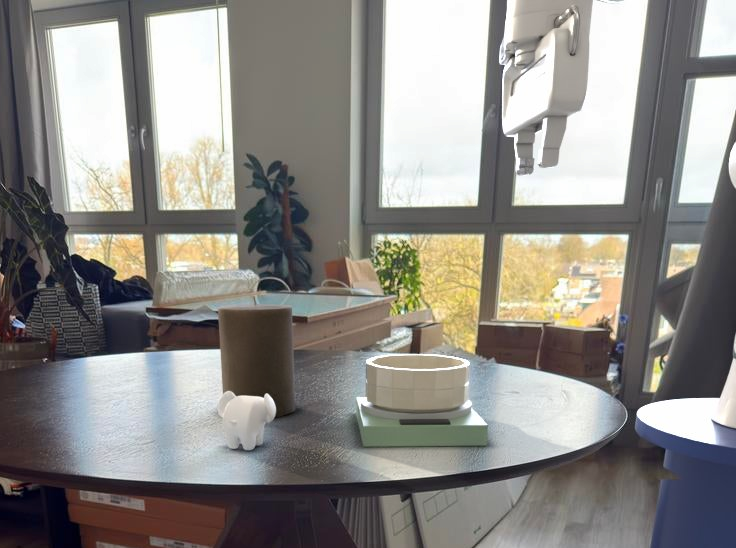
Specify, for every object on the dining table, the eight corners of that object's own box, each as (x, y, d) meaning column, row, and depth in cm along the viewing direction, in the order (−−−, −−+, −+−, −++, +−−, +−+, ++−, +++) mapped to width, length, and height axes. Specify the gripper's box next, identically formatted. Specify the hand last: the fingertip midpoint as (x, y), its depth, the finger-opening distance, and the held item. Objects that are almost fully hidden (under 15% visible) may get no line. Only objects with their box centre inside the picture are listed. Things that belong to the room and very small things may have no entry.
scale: (460, 414, 97) (461, 390, 95) (486, 445, 82) (488, 418, 80) (356, 414, 96) (356, 390, 95) (363, 446, 81) (363, 418, 80)
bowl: (456, 392, 94) (458, 353, 92) (476, 413, 82) (479, 369, 81) (362, 393, 93) (363, 354, 92) (369, 414, 82) (370, 370, 80)
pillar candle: (279, 421, 93) (274, 299, 87) (210, 415, 95) (202, 297, 90) (306, 405, 101) (303, 294, 96) (242, 401, 104) (236, 292, 99)
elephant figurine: (289, 439, 84) (288, 388, 82) (259, 457, 77) (256, 402, 75) (237, 434, 86) (234, 384, 84) (203, 451, 79) (199, 397, 77)
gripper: (613, -2, 67) (595, 162, 72) (548, 52, 87) (537, 178, 91) (546, -3, 67) (533, 161, 72) (496, 51, 86) (488, 178, 91)
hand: (535, 171), depth 82 cm, fingers open, 8 cm apart
